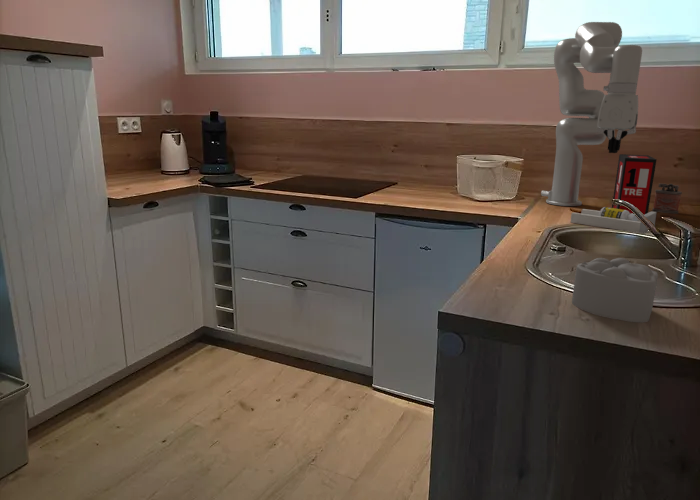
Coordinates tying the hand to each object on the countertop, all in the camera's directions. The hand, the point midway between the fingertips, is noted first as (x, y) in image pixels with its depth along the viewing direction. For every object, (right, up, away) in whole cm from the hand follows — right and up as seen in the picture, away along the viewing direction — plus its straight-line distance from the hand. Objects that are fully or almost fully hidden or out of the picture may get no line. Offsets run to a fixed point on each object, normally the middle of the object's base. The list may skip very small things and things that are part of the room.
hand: (613, 152), depth 165 cm
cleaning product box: (+14, -18, +19) cm, 30 cm away
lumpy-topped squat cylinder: (-33, -40, -67) cm, 85 cm away
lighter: (+32, -16, +28) cm, 45 cm away
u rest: (+1, -22, +4) cm, 22 cm away
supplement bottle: (-1, -19, +5) cm, 19 cm away
